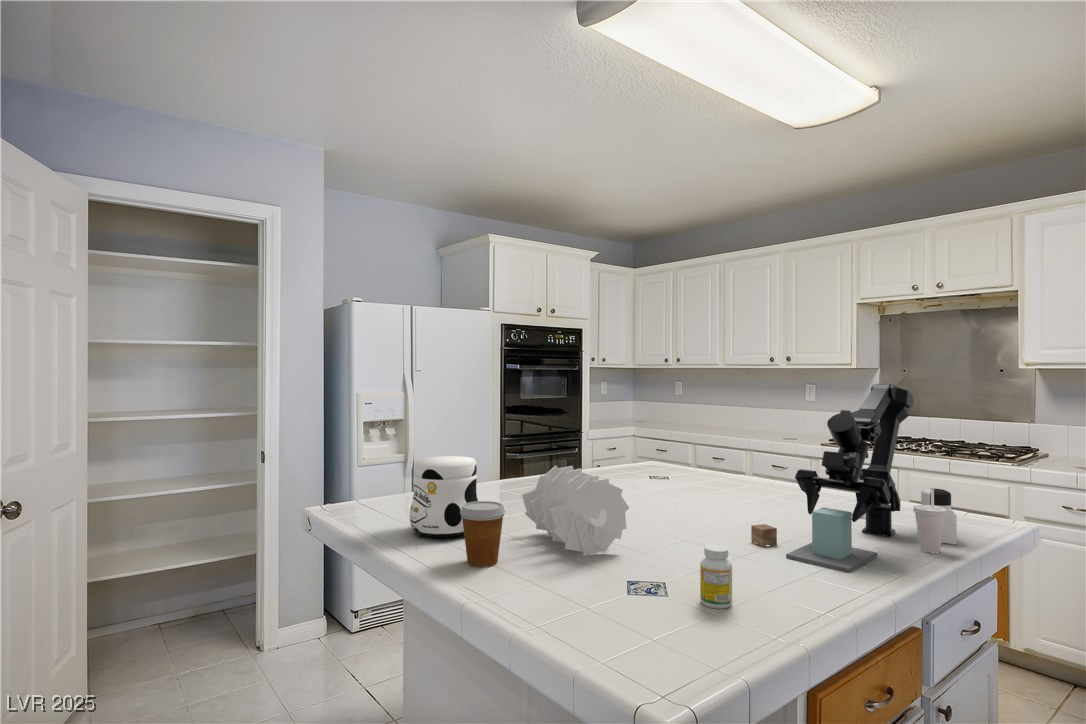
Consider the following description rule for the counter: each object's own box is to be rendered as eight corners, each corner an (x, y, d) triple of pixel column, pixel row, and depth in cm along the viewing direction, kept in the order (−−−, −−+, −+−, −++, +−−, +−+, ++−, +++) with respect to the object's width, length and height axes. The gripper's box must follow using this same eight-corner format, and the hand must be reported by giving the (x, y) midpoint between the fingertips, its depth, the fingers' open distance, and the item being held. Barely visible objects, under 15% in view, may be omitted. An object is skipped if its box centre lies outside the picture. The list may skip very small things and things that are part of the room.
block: (765, 540, 143) (765, 524, 143) (776, 545, 139) (776, 528, 140) (751, 542, 142) (751, 525, 142) (762, 547, 138) (762, 529, 138)
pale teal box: (823, 547, 135) (823, 507, 135) (851, 553, 130) (851, 511, 131) (812, 553, 131) (812, 511, 131) (841, 559, 126) (840, 516, 126)
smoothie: (952, 556, 132) (952, 492, 132) (920, 554, 133) (919, 490, 133) (939, 547, 138) (939, 486, 138) (908, 545, 139) (908, 485, 139)
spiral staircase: (568, 546, 152) (618, 571, 129) (508, 521, 146) (549, 543, 123) (594, 478, 156) (647, 491, 133) (537, 452, 150) (582, 460, 128)
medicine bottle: (951, 537, 146) (950, 488, 147) (957, 545, 140) (956, 493, 140) (916, 534, 149) (916, 485, 150) (921, 541, 143) (920, 490, 143)
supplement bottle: (724, 612, 101) (724, 554, 101) (694, 604, 104) (694, 548, 104) (737, 602, 105) (737, 547, 105) (708, 595, 108) (708, 541, 108)
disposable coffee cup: (469, 572, 120) (469, 512, 120) (453, 559, 128) (453, 503, 128) (512, 565, 124) (512, 507, 124) (494, 553, 133) (494, 498, 133)
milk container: (395, 537, 145) (395, 462, 145) (434, 521, 161) (434, 453, 161) (457, 545, 139) (458, 467, 139) (491, 527, 155) (492, 457, 155)
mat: (817, 543, 141) (817, 540, 141) (877, 556, 131) (877, 552, 131) (786, 557, 130) (786, 554, 130) (849, 572, 120) (849, 568, 120)
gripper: (798, 434, 141) (776, 488, 133) (885, 441, 127) (867, 501, 120) (812, 464, 146) (792, 517, 139) (898, 474, 133) (881, 533, 125)
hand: (830, 516), depth 130 cm, fingers open, 9 cm apart
